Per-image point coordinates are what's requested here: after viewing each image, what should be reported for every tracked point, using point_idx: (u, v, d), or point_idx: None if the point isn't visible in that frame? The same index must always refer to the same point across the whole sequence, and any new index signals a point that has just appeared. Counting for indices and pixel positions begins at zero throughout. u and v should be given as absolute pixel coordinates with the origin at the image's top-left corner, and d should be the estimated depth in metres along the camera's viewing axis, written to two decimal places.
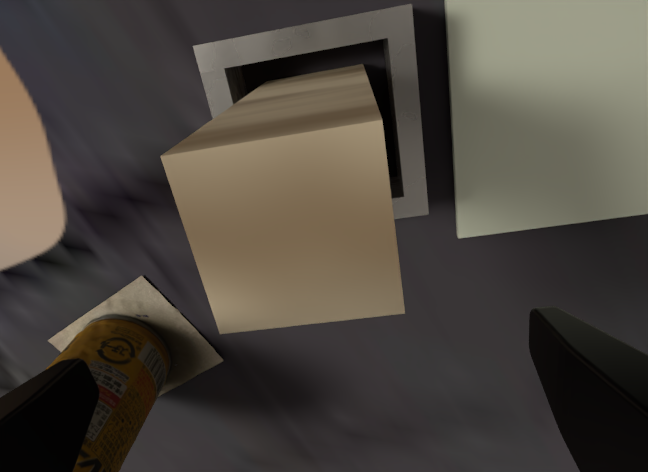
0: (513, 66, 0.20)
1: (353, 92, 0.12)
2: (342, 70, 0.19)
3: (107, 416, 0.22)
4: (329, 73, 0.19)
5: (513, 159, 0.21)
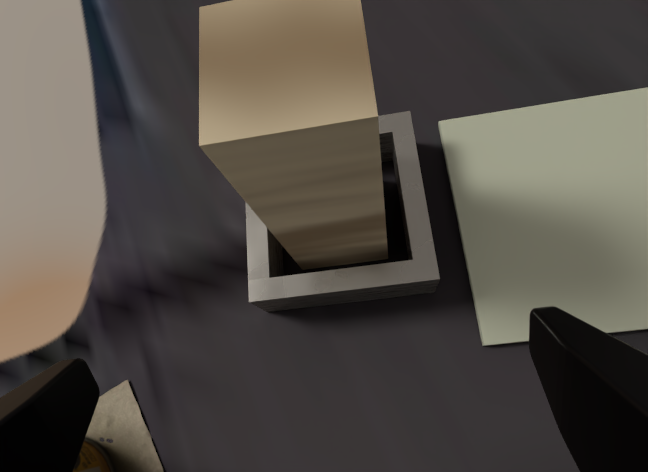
0: (506, 178, 0.23)
1: None
2: None
3: None
4: None
5: (526, 257, 0.21)
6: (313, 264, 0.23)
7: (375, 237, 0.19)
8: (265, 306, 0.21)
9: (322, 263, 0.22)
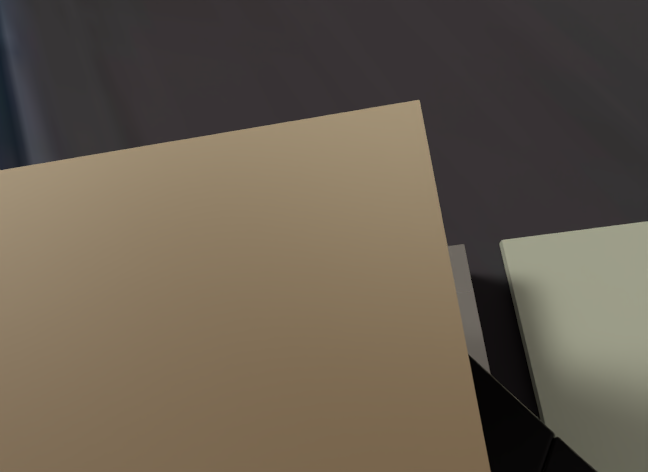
0: (623, 350, 0.13)
1: None
2: None
3: None
4: None
5: None
6: None
7: None
8: None
9: None
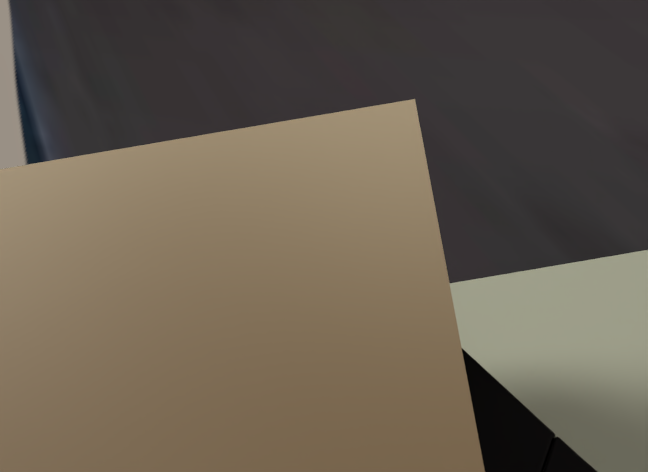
0: (491, 363, 0.20)
1: None
2: None
3: None
4: None
5: None
6: None
7: None
8: None
9: None
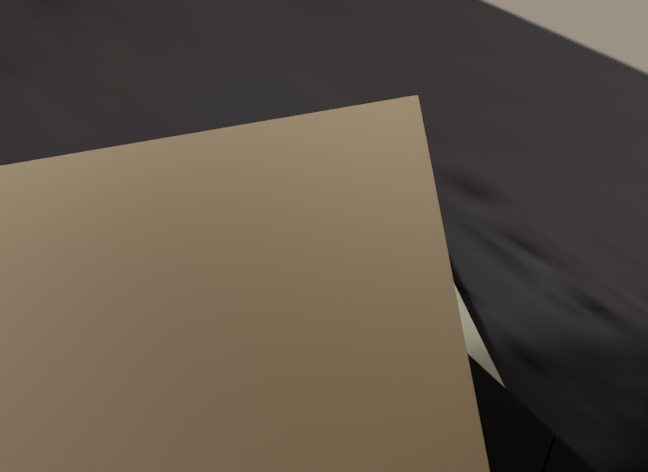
0: None
1: None
2: None
3: None
4: None
5: None
6: None
7: None
8: None
9: None
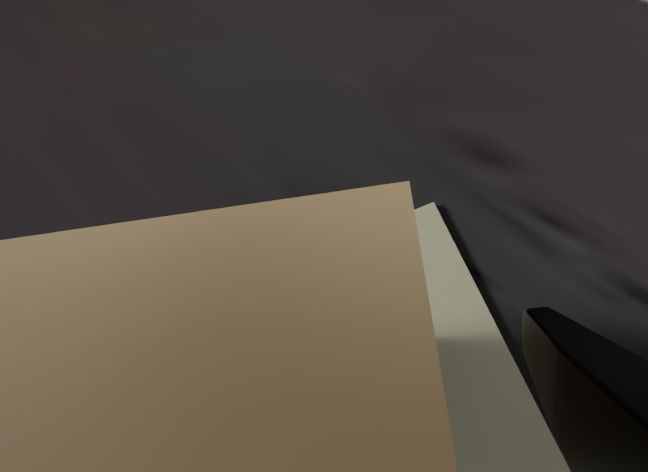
0: None
1: None
2: None
3: None
4: None
5: None
6: None
7: None
8: None
9: None
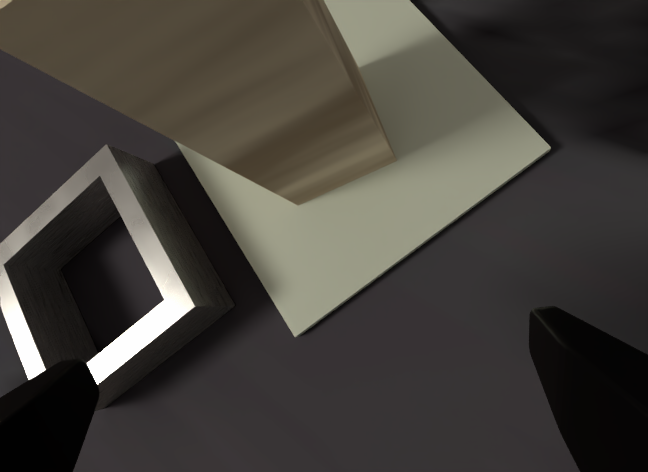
0: None
1: None
2: None
3: None
4: None
5: (297, 222, 0.19)
6: (307, 194, 0.18)
7: (363, 133, 0.14)
8: None
9: (315, 189, 0.18)
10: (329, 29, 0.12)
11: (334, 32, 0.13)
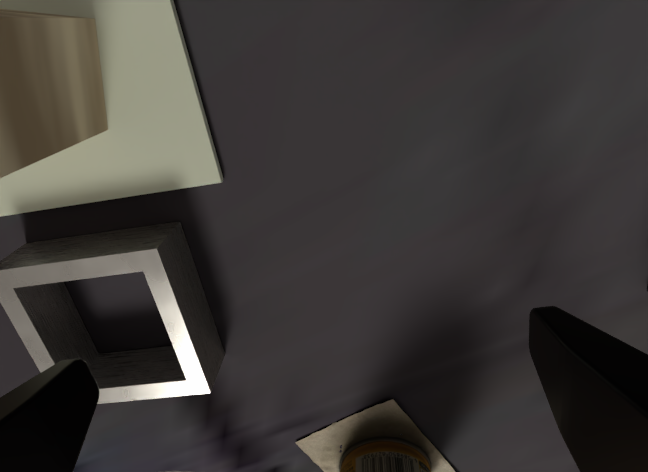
0: None
1: None
2: None
3: None
4: None
5: (123, 137, 0.20)
6: (98, 116, 0.19)
7: (39, 34, 0.15)
8: (216, 367, 0.24)
9: (95, 106, 0.19)
10: None
11: None
